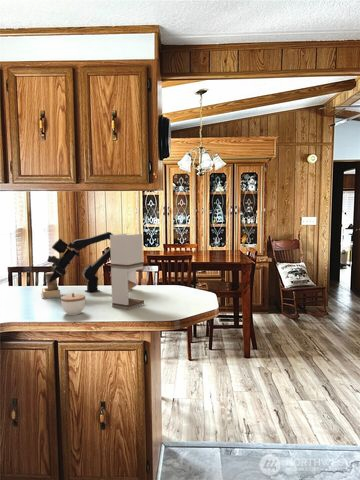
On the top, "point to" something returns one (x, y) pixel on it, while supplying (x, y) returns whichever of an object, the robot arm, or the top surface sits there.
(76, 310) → the lidded jar
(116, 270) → the coffee grinder
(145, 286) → the top surface
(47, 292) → the dock
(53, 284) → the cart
